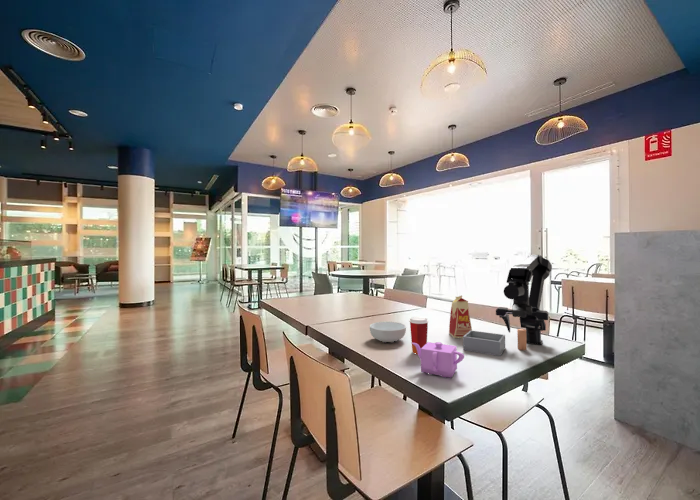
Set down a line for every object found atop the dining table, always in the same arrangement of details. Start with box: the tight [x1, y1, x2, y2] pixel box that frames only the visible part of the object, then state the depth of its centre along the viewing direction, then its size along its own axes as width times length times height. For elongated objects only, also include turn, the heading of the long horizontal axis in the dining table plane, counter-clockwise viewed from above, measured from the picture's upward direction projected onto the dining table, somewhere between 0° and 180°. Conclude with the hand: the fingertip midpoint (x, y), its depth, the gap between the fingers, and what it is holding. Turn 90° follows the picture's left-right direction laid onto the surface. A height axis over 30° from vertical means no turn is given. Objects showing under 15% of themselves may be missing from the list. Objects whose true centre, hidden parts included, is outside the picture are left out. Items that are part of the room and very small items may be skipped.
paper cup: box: [408, 316, 429, 355], centre depth 123 cm, size 8×8×14 cm
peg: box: [516, 328, 528, 351], centre depth 124 cm, size 3×3×8 cm
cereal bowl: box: [369, 320, 407, 343], centre depth 140 cm, size 17×17×7 cm
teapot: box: [411, 341, 465, 378], centre depth 103 cm, size 18×14×10 cm
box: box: [462, 329, 506, 357], centre depth 126 cm, size 12×14×6 cm
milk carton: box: [448, 295, 473, 339], centre depth 146 cm, size 9×9×20 cm
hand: (521, 333), depth 125 cm, fingers open, 9 cm apart
